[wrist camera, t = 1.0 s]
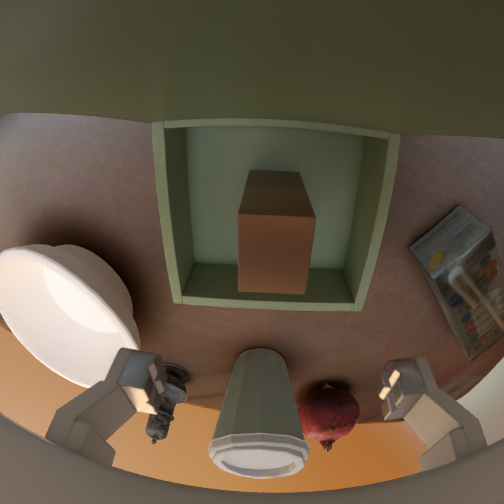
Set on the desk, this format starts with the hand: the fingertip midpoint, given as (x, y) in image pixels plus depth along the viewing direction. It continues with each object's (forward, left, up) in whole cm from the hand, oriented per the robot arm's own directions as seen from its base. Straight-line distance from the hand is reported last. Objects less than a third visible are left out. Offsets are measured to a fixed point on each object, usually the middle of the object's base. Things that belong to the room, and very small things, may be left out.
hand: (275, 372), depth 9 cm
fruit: (+30, +10, -18) cm, 36 cm away
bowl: (+12, -22, -18) cm, 31 cm away
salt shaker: (+27, -13, -18) cm, 35 cm away
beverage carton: (+8, +23, -18) cm, 30 cm away
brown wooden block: (0, 0, -16) cm, 16 cm away
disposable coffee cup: (+22, 0, -18) cm, 28 cm away
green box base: (0, 0, -17) cm, 17 cm away
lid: (-8, 0, -3) cm, 9 cm away
